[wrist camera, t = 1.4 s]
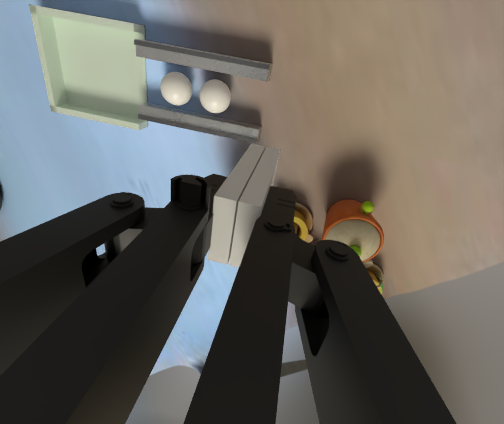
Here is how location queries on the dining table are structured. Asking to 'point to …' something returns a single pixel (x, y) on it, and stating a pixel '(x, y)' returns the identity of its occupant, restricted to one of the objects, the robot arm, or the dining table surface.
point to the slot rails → (208, 63)
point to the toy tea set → (348, 231)
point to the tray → (91, 66)
